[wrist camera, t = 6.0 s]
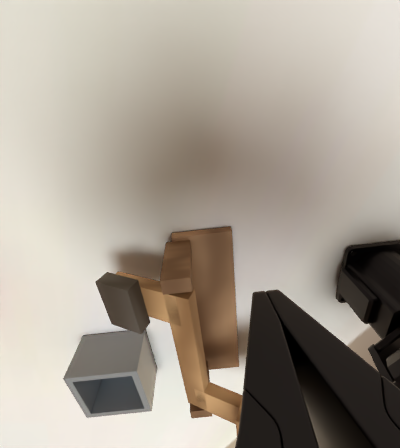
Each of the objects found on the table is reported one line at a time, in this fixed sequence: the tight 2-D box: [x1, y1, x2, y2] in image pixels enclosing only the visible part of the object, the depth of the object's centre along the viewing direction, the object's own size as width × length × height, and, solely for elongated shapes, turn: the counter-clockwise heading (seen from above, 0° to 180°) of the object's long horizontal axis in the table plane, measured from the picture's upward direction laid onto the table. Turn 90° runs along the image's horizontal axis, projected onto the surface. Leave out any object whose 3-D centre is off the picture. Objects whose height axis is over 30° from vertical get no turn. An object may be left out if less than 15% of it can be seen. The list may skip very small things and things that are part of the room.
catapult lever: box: [96, 272, 242, 435], centre depth 19 cm, size 17×16×3 cm
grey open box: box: [63, 330, 157, 418], centre depth 25 cm, size 7×7×4 cm
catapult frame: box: [160, 227, 239, 418], centre depth 22 cm, size 6×18×6 cm, turn 6°
